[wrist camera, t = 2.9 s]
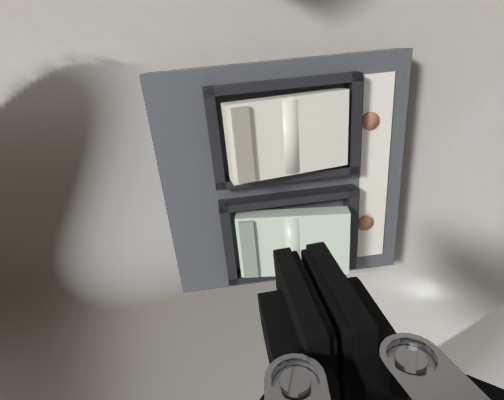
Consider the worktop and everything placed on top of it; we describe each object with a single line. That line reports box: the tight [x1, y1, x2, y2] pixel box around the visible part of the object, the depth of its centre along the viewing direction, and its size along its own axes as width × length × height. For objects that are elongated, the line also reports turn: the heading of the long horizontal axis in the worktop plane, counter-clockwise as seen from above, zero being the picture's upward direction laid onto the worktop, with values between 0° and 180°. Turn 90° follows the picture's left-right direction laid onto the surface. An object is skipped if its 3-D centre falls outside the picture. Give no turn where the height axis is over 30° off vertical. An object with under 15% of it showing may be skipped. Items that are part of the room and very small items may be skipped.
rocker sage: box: [235, 206, 351, 278], centre depth 29 cm, size 9×6×2 cm, turn 95°
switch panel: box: [139, 48, 413, 293], centre depth 30 cm, size 20×19×4 cm
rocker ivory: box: [221, 88, 349, 186], centre depth 25 cm, size 9×6×2 cm, turn 95°
